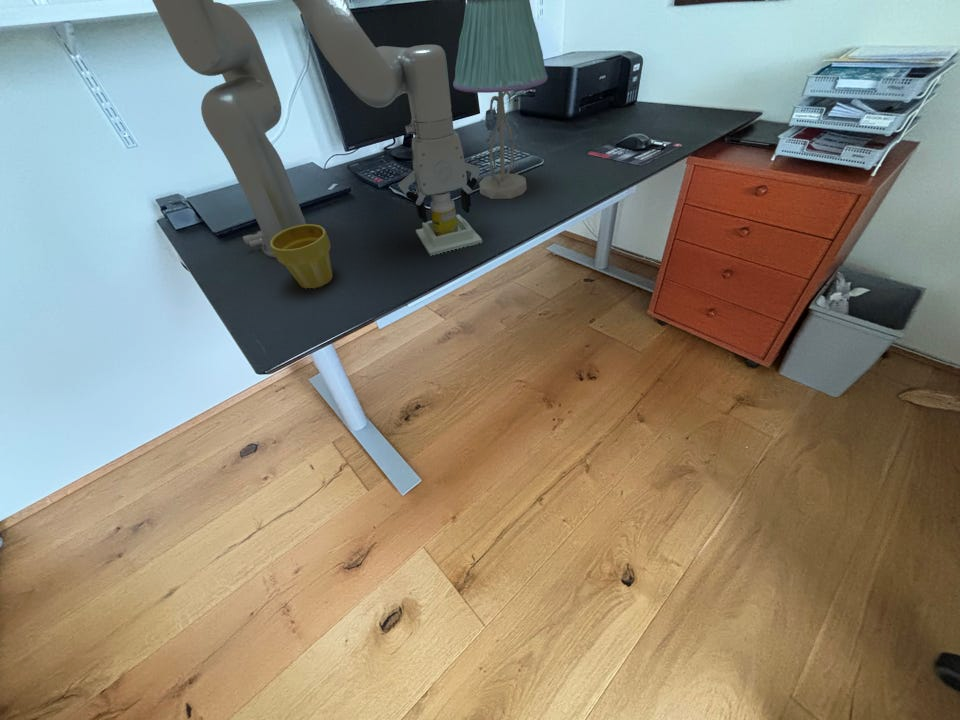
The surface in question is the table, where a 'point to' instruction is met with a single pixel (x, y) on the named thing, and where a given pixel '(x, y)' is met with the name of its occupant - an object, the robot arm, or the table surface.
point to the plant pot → (304, 254)
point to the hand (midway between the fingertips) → (445, 215)
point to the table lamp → (499, 73)
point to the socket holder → (448, 237)
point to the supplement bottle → (443, 214)
